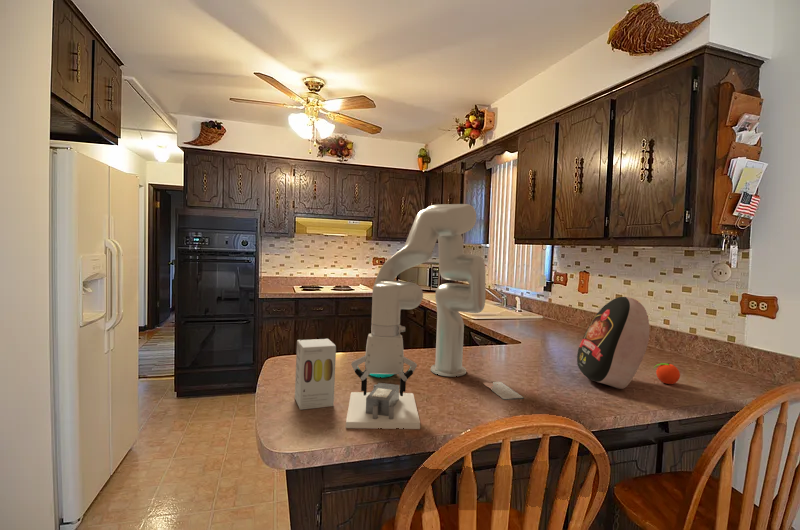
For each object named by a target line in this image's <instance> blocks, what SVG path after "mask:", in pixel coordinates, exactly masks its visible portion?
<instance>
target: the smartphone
mask: <svg viewBox="0 0 800 530" xmlns="http://www.w3.org/2000/svg"><path fill="white" fill-rule="evenodd" d="M492 382H493V385H494V386H492V387H493V388H492V387H491V388H492V389H491V390H492V391H491V392H492V393H494V394H495V393H496V396H498V397H499V396H500V397H501V398H500V397H499V398H500V399H501V400H504V401H508V400H509V401H510V400H524V399H525V397H524V396H522V395H521V394H519V393H518V392H516V391H515V390H514V389H512V388H510V387H509V386H508V385H506V384H504V383H503V382H502V381H492ZM497 384H498V385H497Z"/></svg>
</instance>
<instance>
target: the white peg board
mask: <svg viewBox="0 0 800 530" xmlns="http://www.w3.org/2000/svg"><path fill="white" fill-rule="evenodd" d="M376 385H377V383H376V384H373V387H372V390H373V389H374V388H375V387H376ZM370 393H371V391H369V392H367V393H366V396H365V395H364V391H360V392H359V391H351V392H350V396H349V402H348V409H347V412H346V413H347V414H346V421H345V429H378V428H379V429H380V428H382V429H385V430H389V429H392V430H396V428H399V430H420V429H421V420H420V417H419V412H418V408H417V404H416V399H415V396H414V393H413V392H403V396H400V392H399V400H398V401H397V403H396V405H395V406H389V416H383V415H378V406H377V405H374V406H373V414H367V413H366V398H367V396H368V395H369V394H370ZM403 428H404V429H403ZM380 430H381V429H380Z"/></svg>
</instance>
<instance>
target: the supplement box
mask: <svg viewBox="0 0 800 530" xmlns="http://www.w3.org/2000/svg"><path fill="white" fill-rule="evenodd" d="M336 356H337V346H336V344H335V343H334V342H333V341H331V340H330V339H329V338H319V339H317V338H315V339H297V340H296V356H295V357H296V358H295V360H296V361H295V380H294V381H295V383H294V400H295V402H296V404H297V407H298V409H299V410H309V409H319V408H326V407H334V404H335V403H334V402H335V382H336Z"/></svg>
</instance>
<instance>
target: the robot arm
mask: <svg viewBox="0 0 800 530" xmlns="http://www.w3.org/2000/svg"><path fill="white" fill-rule="evenodd" d="M476 222H477V212H476V209H475V207H474V206H472V205H471V204H468V203H451V204H449V203H447V204H446V203H444V204H443V203H442V204H432V205H429V206H427V207H426V208H424V209H421V210H419V212H417V214H416V215H415V218H414V221H413V223H412V225H411V228H410V231H409V233H408V236H407V238H406V241H405V243H404V245H403V247H402V248H401V249H399V250H397V252H395V253H394V254H392V256H391V257H389V258H388V259H387V260H386V261H385V262H384V263H383V264H382V266H381V267H380V269H379V270H378V273H377V276H376V278H375V281H374V283H373V287H372V298H371V299H372V300H371V303H372V305H371V327H370V328H371V329H370V330H371V333H368V335H367V339H366V345H365V346H366V347H365V355H363V356H361V357H358V358H357V359H354V360H353V361H351V367H352V370H353V371H354V373H355V375H357V377H359V379H360V381H361V385H360V386H361V389H360V392H364V395H365V396H366V393H367V391H368V390H367V389H368V388H367V387H368V386H367V385H368V377H369V376H370V375H369V374H370V373H371V374H394V375H398V376H399V377H400V379H399V393H400V396H403V393H406V384H407V381H408V379H410V378H411V376H412V375H414V372H415V370H416V369H417V367H418V365H417V363H416V362H415V361H413V360H411V359H410V358H408V357H406V356H405V355H404V353H405V352H404V340H403V339H404V338H403V335H402V334H401V333H404V332H406V326H403V325H401V311H402V310H413V309H417V307H419V306H420V304H421V303H422V301H423V297H424V293H423V289H422V288H421V286H420V285H419V284H417V283H415V282H412V281H403V280H402V281H401V280H395V279H396V278H397V277H398V275H400V274H401V273H403V272H405V271H406V270H409V269H410V268H411V269H412V268H414V267H418V266H419V265H421V264H424V263H426V262H428V261H429V260H430V259H431V257H432V255H433V253H434V249H435V246H436V244H437V242H438V270H439V275H440V277H441V278H442V279H444V280H446V281H447V280H448V281H454V282H455V281H457V282H467V283H468V284H465V283H464V284H463V283H453V282H446V283H442V284H439V286H437V288H436V290H435V295H434V296H435V304H436V306H435V307H436V315H437V316H436V318H437V319H436V337H435V339H436V343H435V363H434V364H432V365H431V366H430V372H432V374H435V375H437V374H438V376H441V377H448V378H452V377H453V378H454V377H456V376H457V377H462V376H465V375H466V374H467V369H466V368H465V367H464V366H463V354H464V352H463V350H464V330H465V328H464V327H465V323H464V319H463V317H462V315H461V314H460V312H461V313H462V312H463V313H470V314H479V313H481V312H482V311H484V309H485V306H486V293H487V292H486V285H487V284H486V264H485V260H484V259H483V257H482V256H481V255H479V254H476V253H474V254H473V253H465V251H464V238H463V236H462V234H465V233H467V232H469V231H471V230H473V228H474V226H475V224H476ZM363 363H364V367H365V369H364V370H363V371H362V370H361V368H359V365H361V364H363ZM404 364H406V365H408V366H409V368H408V369H407V370H406V371H404V366H405V365H404Z"/></svg>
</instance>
